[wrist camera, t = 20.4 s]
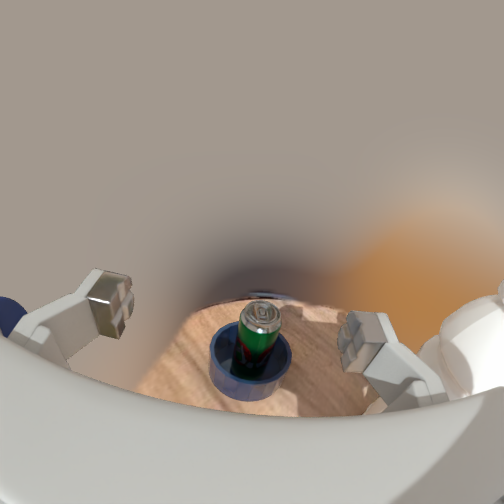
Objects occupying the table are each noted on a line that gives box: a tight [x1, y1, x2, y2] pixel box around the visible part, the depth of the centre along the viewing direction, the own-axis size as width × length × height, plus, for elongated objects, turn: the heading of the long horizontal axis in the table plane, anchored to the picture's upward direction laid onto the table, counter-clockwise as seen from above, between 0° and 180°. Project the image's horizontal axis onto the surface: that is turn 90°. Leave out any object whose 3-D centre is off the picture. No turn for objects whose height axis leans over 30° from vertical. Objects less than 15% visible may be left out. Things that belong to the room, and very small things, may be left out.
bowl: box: [208, 321, 292, 401], centre depth 36 cm, size 11×11×5 cm
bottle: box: [363, 280, 504, 415], centre depth 21 cm, size 14×14×28 cm
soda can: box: [231, 300, 282, 380], centre depth 34 cm, size 5×5×12 cm
